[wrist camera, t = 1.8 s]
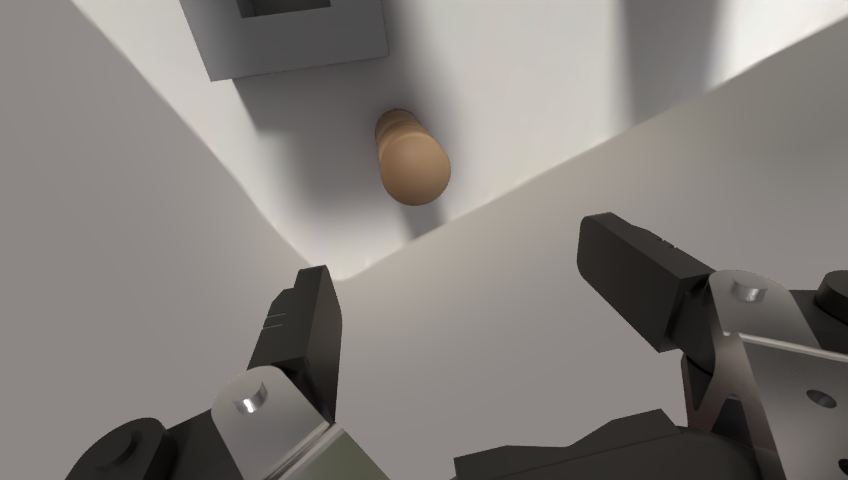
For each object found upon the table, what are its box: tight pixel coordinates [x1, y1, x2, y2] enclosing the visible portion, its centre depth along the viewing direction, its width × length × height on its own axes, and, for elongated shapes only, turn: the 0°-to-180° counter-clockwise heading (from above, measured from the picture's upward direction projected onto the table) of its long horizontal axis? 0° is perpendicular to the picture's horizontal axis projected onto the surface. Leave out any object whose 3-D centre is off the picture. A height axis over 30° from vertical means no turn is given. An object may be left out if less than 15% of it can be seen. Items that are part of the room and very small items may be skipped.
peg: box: [375, 109, 451, 206], centre depth 25 cm, size 4×4×12 cm
